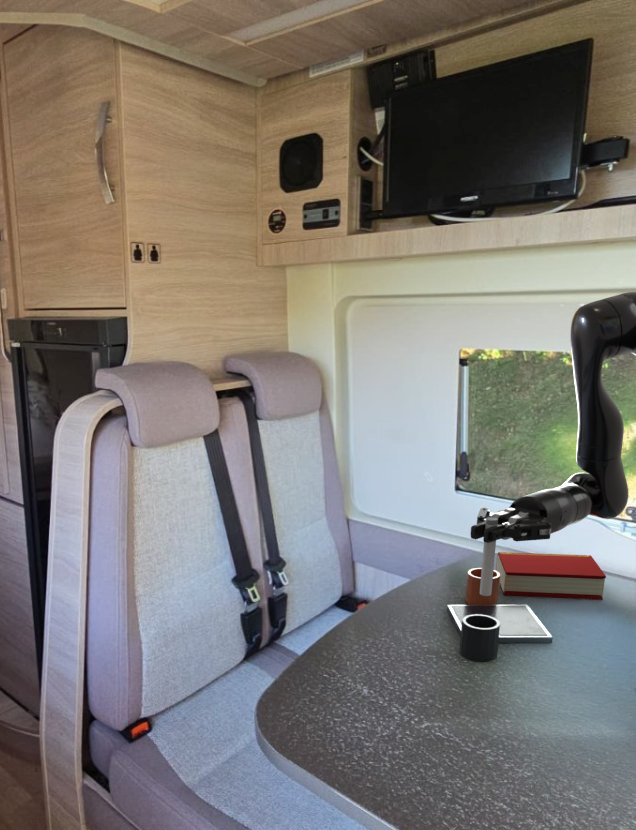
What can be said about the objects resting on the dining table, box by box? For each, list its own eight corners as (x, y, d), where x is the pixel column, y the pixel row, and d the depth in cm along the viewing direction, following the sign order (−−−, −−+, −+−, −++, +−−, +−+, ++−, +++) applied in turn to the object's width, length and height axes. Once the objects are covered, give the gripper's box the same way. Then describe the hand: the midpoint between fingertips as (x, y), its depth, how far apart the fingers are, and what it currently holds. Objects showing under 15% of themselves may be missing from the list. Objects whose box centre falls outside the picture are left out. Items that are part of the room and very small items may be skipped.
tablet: (526, 609, 138) (527, 603, 138) (552, 642, 125) (553, 636, 125) (446, 609, 140) (447, 604, 139) (463, 642, 127) (464, 636, 126)
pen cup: (492, 595, 145) (495, 567, 143) (501, 607, 140) (504, 578, 137) (462, 595, 146) (464, 567, 144) (469, 607, 140) (471, 579, 138)
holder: (491, 645, 125) (494, 614, 123) (501, 662, 120) (504, 629, 118) (456, 645, 126) (458, 614, 124) (464, 661, 120) (466, 629, 118)
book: (586, 576, 152) (589, 553, 151) (602, 599, 141) (606, 576, 139) (495, 572, 156) (497, 550, 155) (503, 595, 145) (506, 572, 143)
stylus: (489, 591, 120) (496, 517, 115) (492, 596, 118) (499, 520, 114) (478, 591, 120) (484, 517, 116) (481, 596, 118) (487, 520, 114)
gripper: (508, 484, 127) (445, 503, 118) (584, 499, 116) (520, 521, 107) (505, 525, 130) (442, 546, 120) (578, 543, 119) (516, 568, 110)
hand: (479, 534), depth 114 cm, fingers closed on stylus, 2 cm apart
